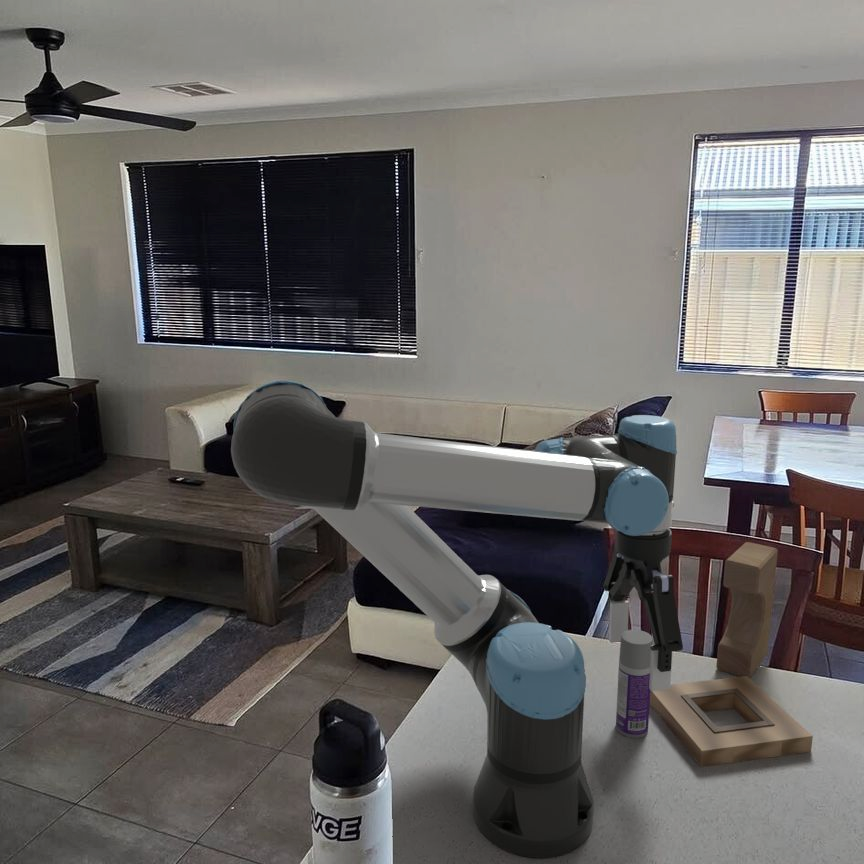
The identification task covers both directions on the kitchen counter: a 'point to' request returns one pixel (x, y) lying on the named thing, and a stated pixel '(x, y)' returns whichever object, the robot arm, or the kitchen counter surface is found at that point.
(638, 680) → the container
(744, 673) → the decorative block
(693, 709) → the board
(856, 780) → the kitchen counter surface
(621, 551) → the robot arm
